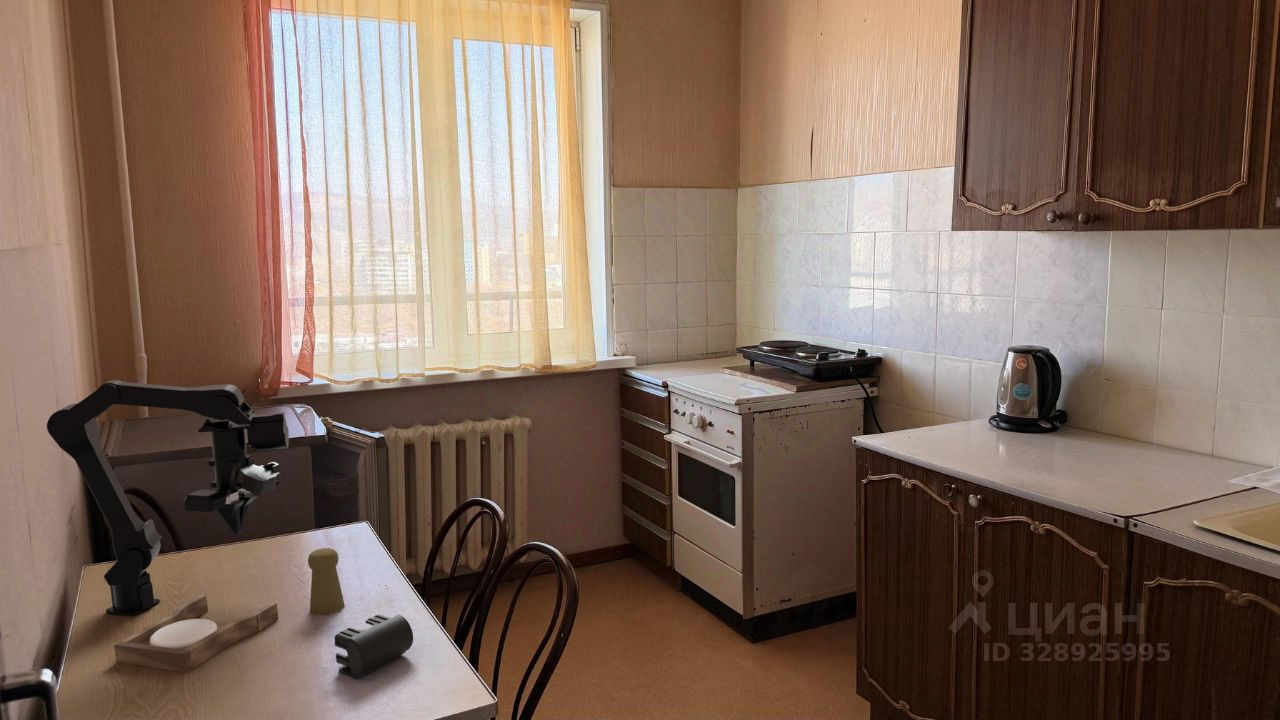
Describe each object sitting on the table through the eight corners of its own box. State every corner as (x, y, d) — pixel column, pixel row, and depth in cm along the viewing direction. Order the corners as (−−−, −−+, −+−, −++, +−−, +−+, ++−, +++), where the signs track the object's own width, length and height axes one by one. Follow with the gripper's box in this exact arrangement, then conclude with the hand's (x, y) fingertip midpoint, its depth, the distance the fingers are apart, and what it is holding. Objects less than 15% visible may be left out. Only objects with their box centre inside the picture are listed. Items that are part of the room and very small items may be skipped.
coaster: (164, 640, 151) (161, 620, 151) (226, 634, 153) (224, 615, 152) (142, 668, 141) (139, 647, 141) (208, 661, 143) (206, 641, 143)
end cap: (364, 685, 134) (361, 643, 133) (334, 673, 138) (331, 632, 137) (415, 658, 142) (412, 618, 141) (385, 647, 146) (382, 608, 145)
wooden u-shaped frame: (202, 610, 163) (201, 594, 162) (278, 619, 158) (276, 602, 157) (109, 661, 144) (107, 644, 143) (192, 673, 139) (191, 655, 138)
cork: (333, 616, 158) (328, 557, 157) (302, 614, 160) (297, 555, 158) (351, 602, 164) (346, 545, 163) (321, 600, 165) (316, 543, 164)
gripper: (229, 468, 154) (238, 554, 157) (299, 442, 172) (305, 520, 174) (177, 465, 157) (186, 549, 160) (250, 440, 175) (258, 517, 177)
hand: (237, 533), depth 168 cm, fingers closed
